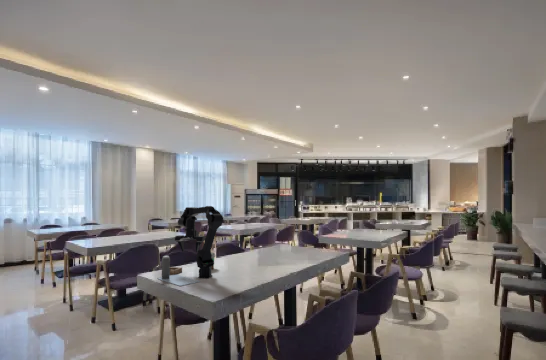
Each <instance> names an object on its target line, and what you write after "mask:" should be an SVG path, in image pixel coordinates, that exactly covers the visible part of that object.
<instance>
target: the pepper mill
mask: <svg viewBox="0 0 546 360" xmlns="http://www.w3.org/2000/svg"><path fill="white" fill-rule="evenodd" d="M170 267H171V257H170V256H169V255H163V256H162V258H161V277H162V279H169V278H170V276H171V274H170Z"/></svg>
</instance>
